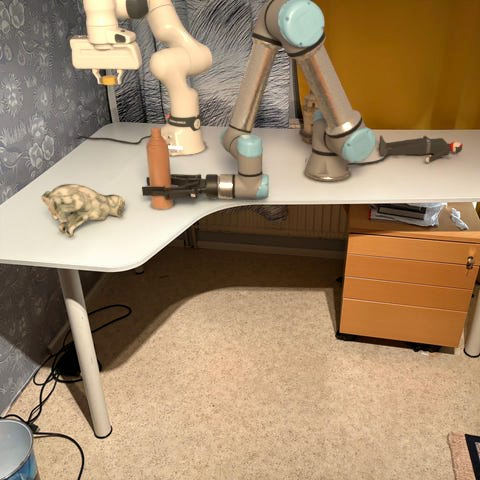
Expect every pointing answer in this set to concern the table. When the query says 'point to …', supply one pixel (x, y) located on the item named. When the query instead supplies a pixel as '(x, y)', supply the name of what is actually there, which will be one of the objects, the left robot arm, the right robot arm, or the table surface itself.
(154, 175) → the bottle
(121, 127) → the table surface
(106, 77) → the cap
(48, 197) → the figurine
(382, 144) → the toy
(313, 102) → the miniature building
